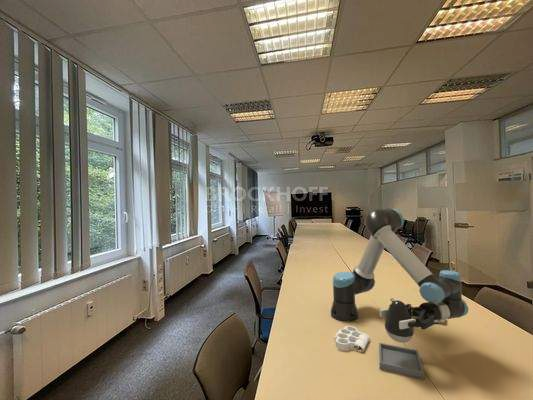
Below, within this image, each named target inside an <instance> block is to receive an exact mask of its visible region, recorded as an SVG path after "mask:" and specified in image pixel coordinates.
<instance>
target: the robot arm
mask: <svg viewBox="0 0 533 400" xmlns="http://www.w3.org/2000/svg"><path fill="white" fill-rule="evenodd" d="M404 221H405V220H404V216H403V214H402V213H401V212H400V211H399V210H398V209H395V208H391V207H388V208H374V209H371V210H370V211H368V212H367V214H366V215H365V218H364V224H365V225H364V226H365V228H366V230H367V231H368V233H369V234H370V238H369V239H368V242H367V245H366V247H365V249H364V251H363V254H362V257H361V259H360V261H359V264H358V265H355V266H354V268H353V269H352V272H350V271H339V272H337V273H335V274H334V275H333V276H332V292H333V293H332V295H333V302H332V305H331V308H330V316H331V317H332V318H333V319H335V320H337V321H340V322H347V323H349V322H350V323H351V322H352V323H353V322H355V321H357V320H359V318H360V316H359V310H358V308H357V304H356V296H357V295H359V294H362V293H366V292H369V291H371V290H372V289H374V287H375V284H376V280H375V273H374V271H375V269H376V267H377V265H378V263H379V261H380V258H381V256H382V254H383V252H384V250H385V249H386V250H387V252H389V254H390V255H391V256H392V257H393V259H395V261H396V262H397V263H398V264H399V265H400V266H401V268H402V269H404V270H405V272H406V273H407V274H408V275H409V276H410V278H411V279H412V280H413V281H414V283H416V284H417V286H418V287H419V291H418V292H419V294H420V296H421V298H422V299H423V300H425V302H422V303H421V304H419V306H412V304H411V303H407V304H405V305H406V307H407V308H408V310H409V313H410V316H414V317H417V318H415V319H413V318H411V319H409V320H403V321H399V329H406V328H412V327H413V328H420V329H421V330H424V331H425V330H427V329H428V328H431V327H432V326H434V325H439V324H438V321H441V320H445V321H446V320H450V319H451V320H452V319H457V318H461V317H464V316H466V315H467V314H468V313H469V306H468V304H467V302H466V301H465V300H464V299H462V293H463V292H462V290H463V289H462V282H463V281H462V275H461V273H459V272H457V271H454V270H449V269H448V270H447V269H444V270H440V271H439V276H438V277H439V278H437V277H436V276H435V275H434V274H433V272H431V271H430V269H429V268H428V267H427V266H426V265H425V264H424V263H423V262H422V261H421V260H420V258H419V257H417V256H416V254H414V252H413V251H411V249H410V248H409V247H408V246H407V245H406V244H405V243H404V241H402V239H400V237H399V236H398V235H397V234H396V231H397V230H399V229H401V228H402V227H403V226H404V223H405V222H404ZM390 305H391V304H389V305H388V306H390ZM388 309H389V308H385V309H379V318H386V315H387V311H388ZM411 310H412V311H411Z"/></svg>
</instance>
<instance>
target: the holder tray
mask: <svg viewBox="0 0 533 400" xmlns="http://www.w3.org/2000/svg"><path fill="white" fill-rule="evenodd" d="M419 352H420V351H419V350H418V349H414V348H408V347H403V346H398V345H393V344H387V343H382V342H379V343H378V355H379V357H378V358H379V363H378V365H379V366H378V367H379V370H381V371H385V372H389V373H394V374H398V375H403V376H407V377H410V378H414V379H420V380H425V370H424V367H423V364H422V360H421V357H420V353H419Z"/></svg>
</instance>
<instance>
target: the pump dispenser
mask: <svg viewBox="0 0 533 400" xmlns="http://www.w3.org/2000/svg"><path fill="white" fill-rule="evenodd" d="M390 302H391V303H390V304H389V305H390V306H389V305H388V306H389V307H388V308H387V309H388V311H387V315H386V317H385V319H384V321H385V322H384V329H385V330H386V331H385V332H386V334H387V335H388V337H390V339H391V340H393V341H395V342H397V343H403V344H404V343H408V342H410V341H411V340H412V339H413V336H414V334H415V327H412V328H406V329H399V321H403V320H409V319H412V318H411V316H410V313H409V310H408V308H407V307H406V304H405V302H403V301H402V300H399V299H398V300H397V299H396V300H395V299H394V298H393V297H390Z"/></svg>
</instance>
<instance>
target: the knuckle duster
mask: <svg viewBox="0 0 533 400" xmlns="http://www.w3.org/2000/svg"><path fill="white" fill-rule="evenodd" d="M332 338H334V339H335V348H336V347H337V348H338V349H337V348H336V349H337V350H339V351H341V350H343V351H342V352H348V351H350V349H353V350H352V351H356V352H359V353H364V352H365V349H366V347H367V346H368V343H369V341H370V340H371V337H370V335H368V334H367V333H364V332H362V331H359V330H358V328H357V327H355V326H352V325H345V327H344V328H340V329H338V331H337V332H336V333H335V336H332ZM358 346H360V347H359V348H360V349H361V348H363V349H361V351H358ZM347 350H348V351H347Z"/></svg>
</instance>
